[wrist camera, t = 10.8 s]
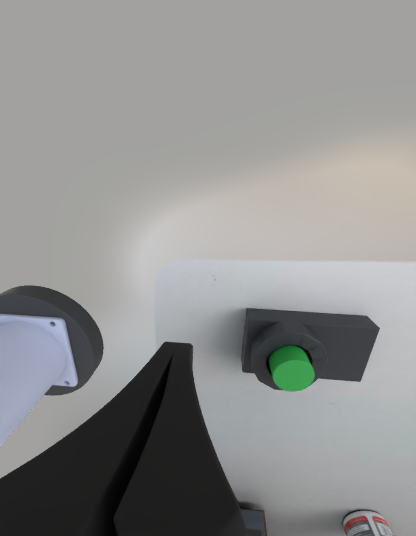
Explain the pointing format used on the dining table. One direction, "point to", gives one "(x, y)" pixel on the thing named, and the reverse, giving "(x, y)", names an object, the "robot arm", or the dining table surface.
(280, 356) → the button
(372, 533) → the pill bottle
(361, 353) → the control block
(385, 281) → the dining table surface
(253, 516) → the drawer
